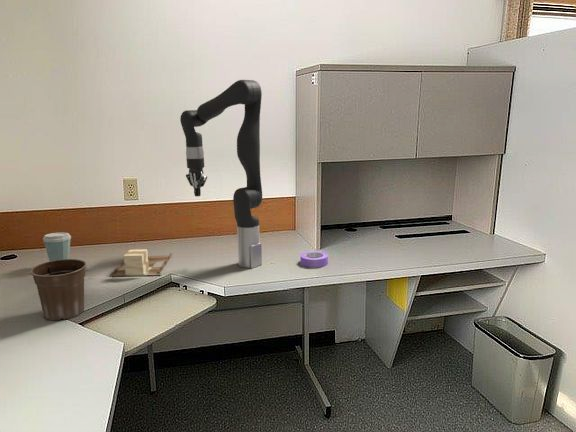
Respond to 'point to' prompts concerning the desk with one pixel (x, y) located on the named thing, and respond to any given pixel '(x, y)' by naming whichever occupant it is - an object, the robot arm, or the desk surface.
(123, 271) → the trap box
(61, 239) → the disposable coffee cup
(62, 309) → the plant pot
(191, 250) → the desk surface
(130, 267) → the block
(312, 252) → the masking tape
